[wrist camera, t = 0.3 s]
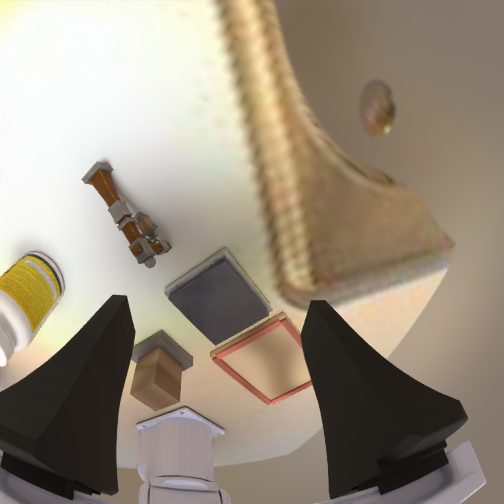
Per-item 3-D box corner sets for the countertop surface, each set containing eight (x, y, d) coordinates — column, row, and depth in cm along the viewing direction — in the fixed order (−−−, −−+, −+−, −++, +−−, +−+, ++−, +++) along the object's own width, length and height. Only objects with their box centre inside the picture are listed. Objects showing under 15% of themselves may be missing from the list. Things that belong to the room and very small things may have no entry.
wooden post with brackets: (167, 267, 20) (137, 277, 16) (114, 186, 20) (79, 179, 16) (184, 252, 20) (157, 259, 15) (129, 171, 20) (95, 160, 15)
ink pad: (214, 337, 24) (214, 349, 23) (165, 287, 22) (162, 298, 20) (270, 305, 24) (274, 315, 22) (225, 247, 21) (226, 255, 20)
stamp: (161, 373, 26) (156, 416, 21) (130, 347, 24) (118, 391, 19) (193, 357, 25) (191, 402, 20) (161, 329, 24) (153, 375, 18)
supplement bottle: (28, 238, 18) (-40, 297, 9) (72, 273, 20) (17, 349, 11) (16, 280, 20) (-37, 342, 11) (57, 312, 21) (13, 385, 13)
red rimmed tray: (267, 400, 30) (268, 405, 29) (210, 352, 25) (210, 358, 24) (328, 369, 29) (330, 374, 28) (283, 311, 24) (285, 317, 23)
